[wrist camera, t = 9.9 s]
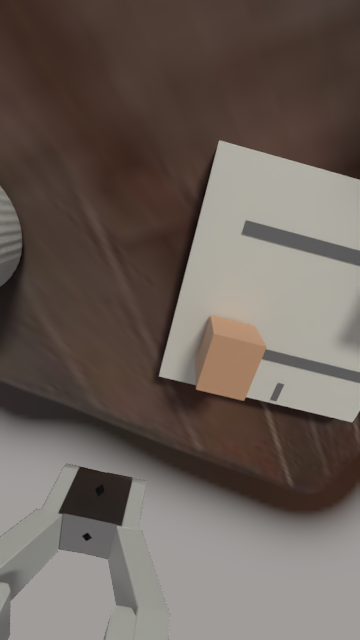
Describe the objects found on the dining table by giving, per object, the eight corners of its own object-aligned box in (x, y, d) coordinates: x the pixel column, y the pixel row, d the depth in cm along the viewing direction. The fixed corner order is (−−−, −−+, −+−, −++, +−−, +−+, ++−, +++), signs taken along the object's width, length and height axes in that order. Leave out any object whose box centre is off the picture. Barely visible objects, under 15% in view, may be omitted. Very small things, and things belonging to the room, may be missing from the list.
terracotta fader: (195, 363, 25) (195, 389, 21) (210, 314, 23) (213, 333, 19) (236, 373, 25) (244, 401, 21) (254, 325, 23) (266, 346, 19)
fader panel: (161, 365, 28) (158, 376, 26) (216, 147, 20) (219, 139, 18) (341, 408, 28) (352, 423, 26) (456, 214, 21) (483, 214, 19)
